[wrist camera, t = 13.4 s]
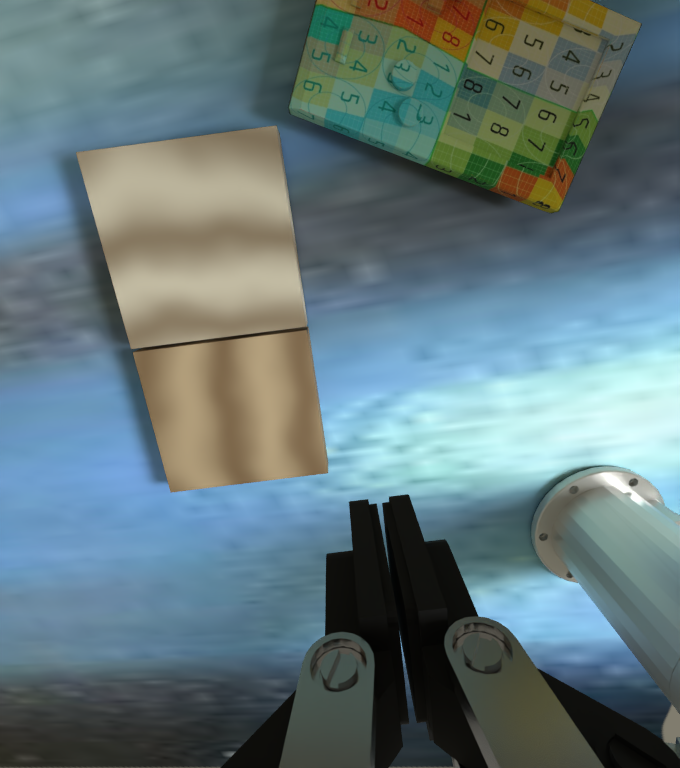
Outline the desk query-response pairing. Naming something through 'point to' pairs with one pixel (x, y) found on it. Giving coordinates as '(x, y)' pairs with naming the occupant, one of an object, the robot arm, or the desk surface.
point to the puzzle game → (467, 84)
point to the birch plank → (197, 236)
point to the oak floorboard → (234, 408)
